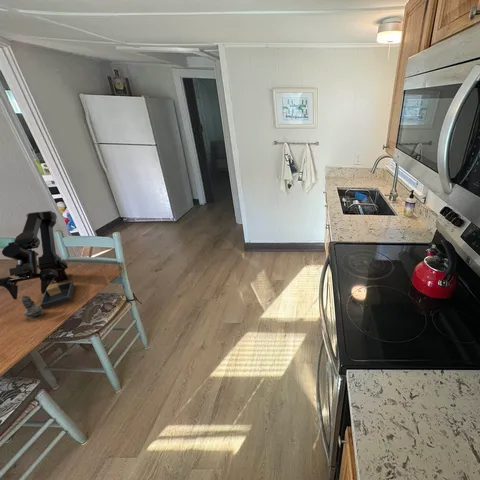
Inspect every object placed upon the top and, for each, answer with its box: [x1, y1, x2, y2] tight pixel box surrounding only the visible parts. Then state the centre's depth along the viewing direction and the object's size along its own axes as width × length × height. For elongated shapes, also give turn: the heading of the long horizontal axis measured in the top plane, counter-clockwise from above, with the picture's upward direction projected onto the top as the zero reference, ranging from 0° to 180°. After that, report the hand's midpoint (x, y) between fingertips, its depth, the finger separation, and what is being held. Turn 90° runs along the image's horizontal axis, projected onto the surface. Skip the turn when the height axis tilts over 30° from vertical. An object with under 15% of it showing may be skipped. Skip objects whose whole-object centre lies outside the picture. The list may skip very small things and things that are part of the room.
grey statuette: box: [20, 294, 44, 320], centre depth 116 cm, size 6×6×12 cm
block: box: [47, 283, 61, 296], centre depth 132 cm, size 4×4×4 cm
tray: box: [39, 281, 75, 310], centre depth 130 cm, size 15×10×3 cm, turn 35°
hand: (29, 296), depth 117 cm, fingers open, 9 cm apart
